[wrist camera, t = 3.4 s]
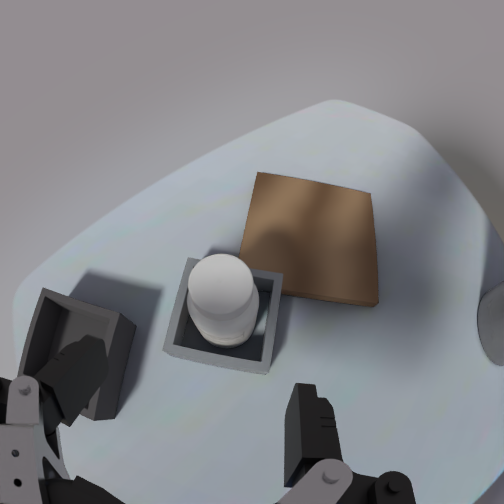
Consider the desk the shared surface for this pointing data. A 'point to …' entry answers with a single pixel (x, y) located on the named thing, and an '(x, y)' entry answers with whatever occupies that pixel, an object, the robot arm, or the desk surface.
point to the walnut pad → (313, 239)
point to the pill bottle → (223, 300)
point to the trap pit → (74, 329)
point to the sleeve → (173, 348)
